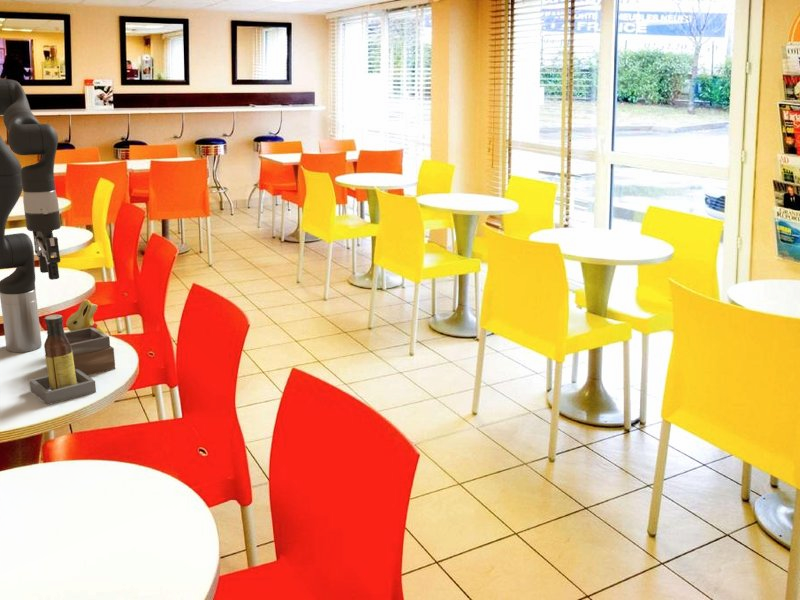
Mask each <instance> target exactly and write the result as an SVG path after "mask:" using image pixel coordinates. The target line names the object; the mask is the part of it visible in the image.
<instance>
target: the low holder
mask: <svg viewBox="0 0 800 600" xmlns="http://www.w3.org/2000/svg"><path fill="white" fill-rule="evenodd" d="M75 374H76V381H77V383H76V384H75V385H71V386H67V387H63V388H59V389H55V390H48V389H51V388H50V384H49V377H48V375H44V376H41V377H37V378H33V379H29V389H30V392H31V393H33V394H34V395H35V396H36V397H37V398H39V400H41V402H43V403H45V404H46V405H53V404H55V403H60V402H63V401H64V402H65V401H68V400H71V399H74V398H75V399H76V398H78V397H82V396H83V397H84V396H86V395H90V394H94V393H97V387H96V386H97V385H96V380H94V378H91V377H90V375H88V376H87V375H86V374H84V373H83V372H81V371H80V370H79V369H75Z"/></svg>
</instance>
